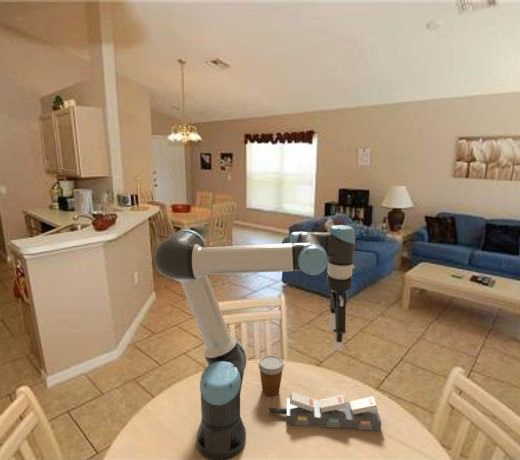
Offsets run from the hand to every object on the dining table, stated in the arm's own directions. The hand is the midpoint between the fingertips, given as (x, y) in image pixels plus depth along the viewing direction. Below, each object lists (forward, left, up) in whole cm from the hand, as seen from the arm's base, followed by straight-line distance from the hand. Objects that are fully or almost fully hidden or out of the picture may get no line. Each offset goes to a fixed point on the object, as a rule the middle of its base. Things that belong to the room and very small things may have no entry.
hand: (335, 340), depth 111 cm
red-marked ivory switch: (-10, -2, -22) cm, 24 cm away
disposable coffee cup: (-21, +10, -28) cm, 37 cm away
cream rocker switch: (+10, -2, -22) cm, 24 cm away
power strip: (-3, -2, -28) cm, 28 cm away
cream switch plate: (0, -2, -22) cm, 22 cm away
